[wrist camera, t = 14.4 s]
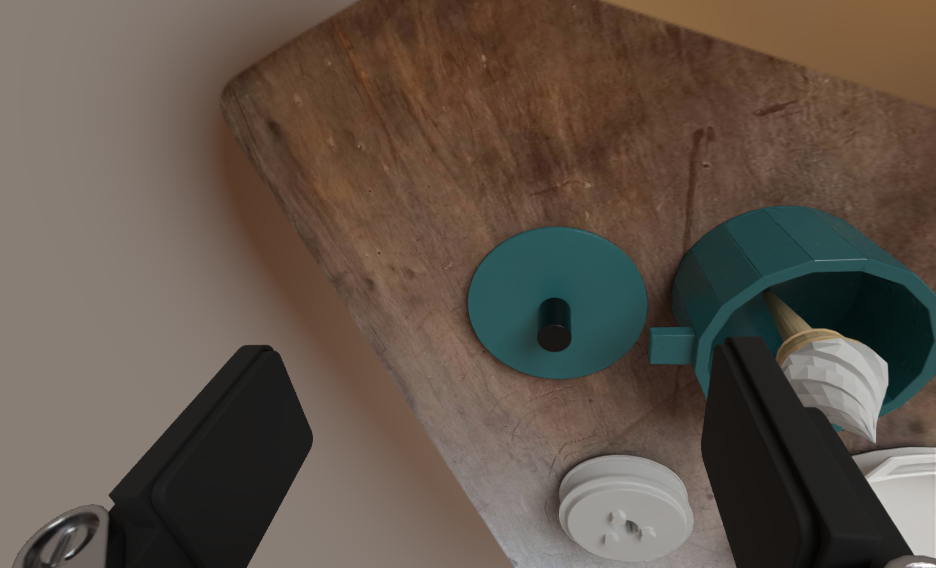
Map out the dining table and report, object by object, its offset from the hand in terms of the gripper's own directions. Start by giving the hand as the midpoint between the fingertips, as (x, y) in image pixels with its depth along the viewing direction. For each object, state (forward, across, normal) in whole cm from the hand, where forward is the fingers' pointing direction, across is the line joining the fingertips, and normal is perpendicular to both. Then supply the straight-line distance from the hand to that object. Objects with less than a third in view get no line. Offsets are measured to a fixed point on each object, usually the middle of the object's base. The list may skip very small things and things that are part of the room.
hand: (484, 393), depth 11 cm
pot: (+27, -17, +15) cm, 35 cm away
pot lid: (+27, -1, +15) cm, 31 cm away
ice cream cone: (+27, -17, +14) cm, 35 cm away
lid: (+27, -6, +38) cm, 47 cm away
